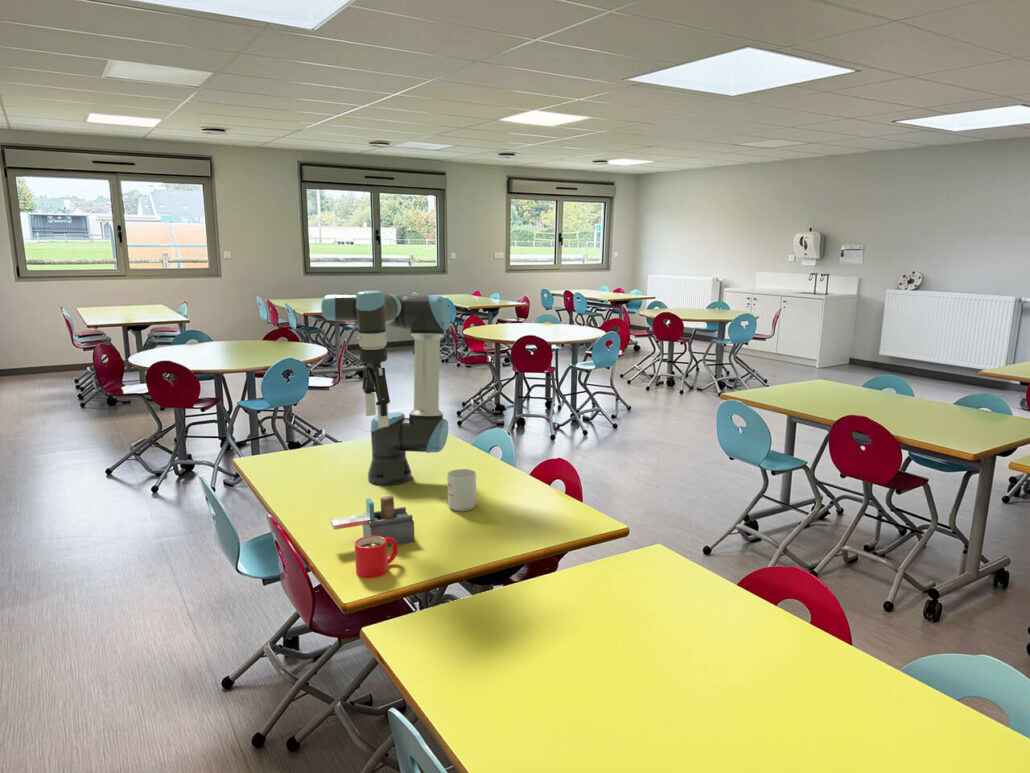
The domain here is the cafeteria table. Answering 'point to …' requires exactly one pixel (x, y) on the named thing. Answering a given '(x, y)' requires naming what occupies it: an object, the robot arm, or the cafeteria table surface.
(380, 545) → the mug
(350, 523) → the grey teal l-shaped bracket
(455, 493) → the mug
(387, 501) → the dowel
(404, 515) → the mount
